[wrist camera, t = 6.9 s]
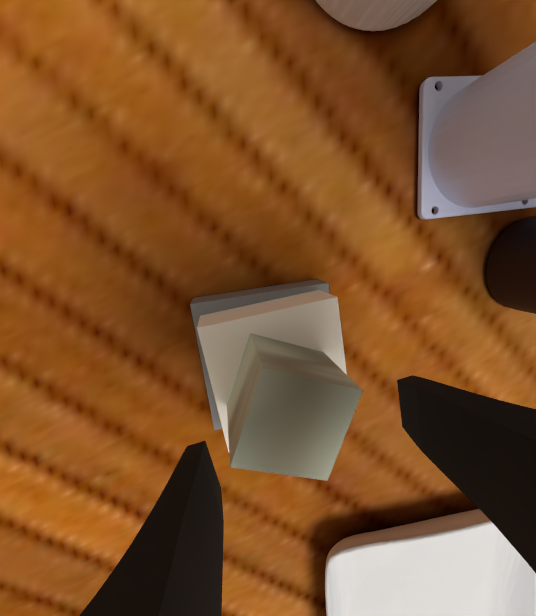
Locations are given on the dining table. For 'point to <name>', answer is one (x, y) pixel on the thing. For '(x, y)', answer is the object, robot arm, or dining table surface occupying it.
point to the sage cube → (288, 410)
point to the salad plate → (430, 571)
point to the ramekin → (374, 12)
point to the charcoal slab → (238, 300)
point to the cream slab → (272, 324)
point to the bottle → (514, 267)
